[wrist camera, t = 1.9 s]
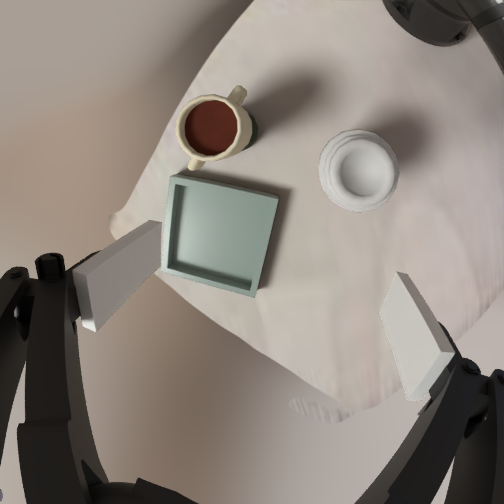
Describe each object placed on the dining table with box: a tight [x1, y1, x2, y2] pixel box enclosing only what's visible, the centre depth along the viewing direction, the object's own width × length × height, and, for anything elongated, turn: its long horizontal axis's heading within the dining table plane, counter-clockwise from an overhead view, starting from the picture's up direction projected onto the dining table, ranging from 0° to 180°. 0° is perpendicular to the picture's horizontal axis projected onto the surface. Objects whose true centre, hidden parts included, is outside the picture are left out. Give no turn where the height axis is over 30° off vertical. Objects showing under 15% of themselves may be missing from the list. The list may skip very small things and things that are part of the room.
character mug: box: [176, 86, 258, 171], centre depth 32 cm, size 11×7×13 cm, turn 148°
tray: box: [162, 174, 280, 298], centre depth 43 cm, size 16×16×2 cm
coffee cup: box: [318, 129, 399, 213], centre depth 31 cm, size 9×9×12 cm
